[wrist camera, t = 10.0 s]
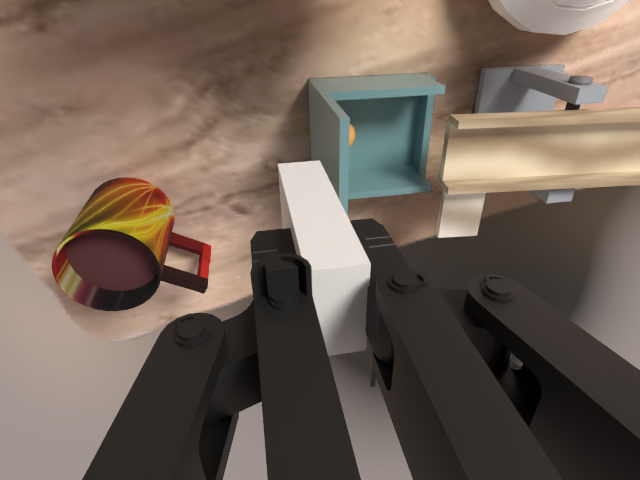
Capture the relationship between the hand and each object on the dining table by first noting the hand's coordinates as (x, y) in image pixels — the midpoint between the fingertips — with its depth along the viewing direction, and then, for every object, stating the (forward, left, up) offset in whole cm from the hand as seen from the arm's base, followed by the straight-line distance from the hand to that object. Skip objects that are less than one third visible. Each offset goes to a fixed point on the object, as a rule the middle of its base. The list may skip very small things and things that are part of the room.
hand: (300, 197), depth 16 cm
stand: (0, +32, -34) cm, 47 cm away
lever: (+3, +33, -25) cm, 42 cm away
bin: (+5, +14, -34) cm, 37 cm away
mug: (+20, -9, -35) cm, 41 cm away
